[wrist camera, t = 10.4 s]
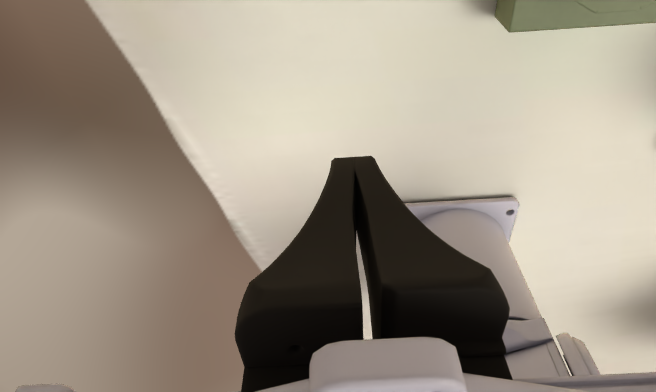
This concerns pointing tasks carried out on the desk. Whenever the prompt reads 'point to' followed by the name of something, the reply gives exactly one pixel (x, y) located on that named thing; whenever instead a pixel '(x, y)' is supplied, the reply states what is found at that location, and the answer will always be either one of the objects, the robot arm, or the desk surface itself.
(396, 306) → the robot arm
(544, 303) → the desk surface
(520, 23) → the button block
